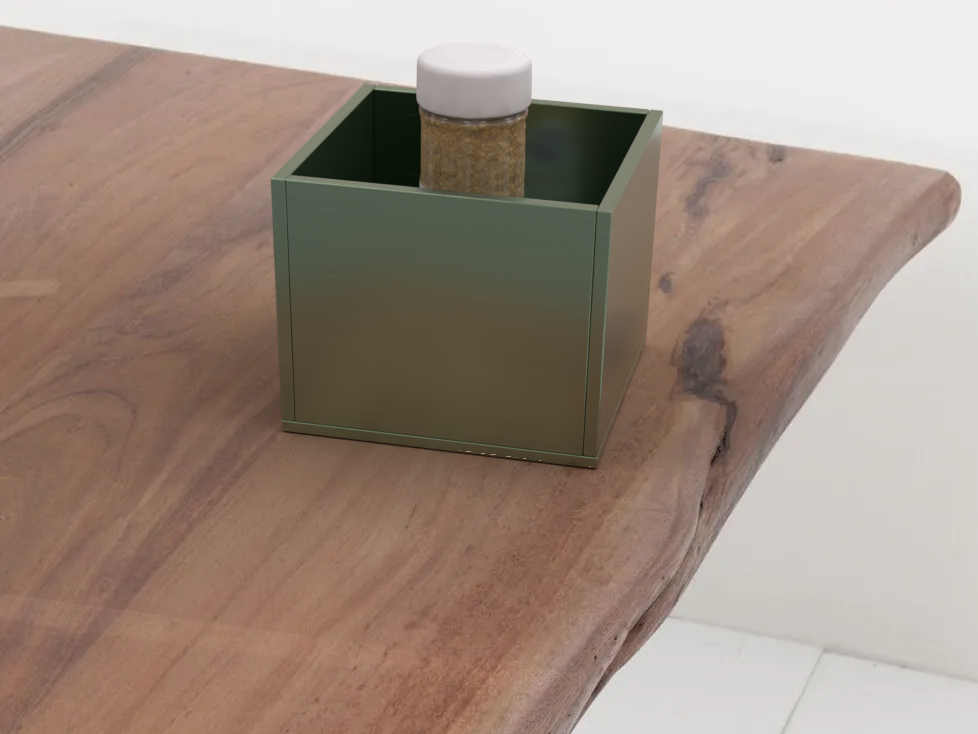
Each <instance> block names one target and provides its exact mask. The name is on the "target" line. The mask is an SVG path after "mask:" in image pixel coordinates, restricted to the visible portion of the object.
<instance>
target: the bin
mask: <svg viewBox="0 0 978 734" xmlns="http://www.w3.org/2000/svg"><path fill="white" fill-rule="evenodd" d="M419 106H420V105H419V104H418V102H417V98H416V87H404V86H394V85H393V86H392V85H383V84H381V85H380V84H377V85H376V84H371V83H363V84H362V85H361V86H360V87H359V88H358V89H357V90H356V91H355V92H354V93H353V94H352V95H351V96H350V97H349V98H348V100H347V101H346V102H344V103H343V105H342V106H340V108H339V109H338V110H336V112H335V113H334V114H333V115H331V117H330V118H329V119H328V120H327V121H326V122H325V123H324V124H323V125H322V126H321V127H320V128H319V129H318V130H316V132H315V133H313V135H312V136H311V137H310V138H309V139H308V140H307V141H306V142H305V143H304V144H303V145H302V146H301V147H300V148H299V149H298V150H297V151H296V152H295V153H294V154H293V155H292V156H291V157H290V158H289V159H288V160H287V161H286V162H285V163H284V164H283V165H282V166H281V167H280V168H279V169H278V170H277V171H276V172H275V173H274V175H272V176H271V178H270V195H271V196H270V197H271V217H272V218H271V219H272V220H271V221H272V239H273V260H274V263H273V264H274V286H275V308H276V328H277V329H276V330H277V351H278V352H277V353H278V354H277V355H278V370H279V371H278V373H279V395H280V396H279V397H280V418H281V431H282V432H290V433H297V434H306V435H314V436H322V437H330V438H339V439H347V440H348V439H349V440H357V441H365V442H372V443H380V444H381V443H382V444H389V445H396V446H397V445H398V446H405V447H412V448H413V447H414V448H423V449H430V450H438V451H447V452H455V453H464V454H472V455H480V456H487V457H488V456H489V457H496V458H504V459H505V458H506V459H512V460H513V459H514V460H520V461H521V460H523V461H528V462H529V461H530V462H537V463H538V462H539V463H546V464H555V465H563V466H570V467H578V468H579V467H580V468H589V469H597V468H598V466H599V463H600V461H601V458H602V455H603V452H604V450H605V448H604V447H606V445H607V443H608V440H609V437H610V435H611V434H612V430H611V429H613V428H614V425H615V422H616V420H617V417H618V415H619V413H620V409H621V407H622V404H623V402H624V400H625V397H626V395H627V392H628V389H629V387H630V384H631V382H630V381H632V379H633V376H634V374H635V372H636V369H637V367H638V364H639V362H640V359H639V357H640V358H641V356H642V354H641V353H643V351H642V349H643V350H645V349H644V348H645V346H646V344H647V333H648V321H649V320H648V319H649V308H650V293H651V280H652V269H653V254H654V253H653V252H654V240H655V228H656V227H655V226H656V213H657V202H658V201H657V199H658V185H659V176H660V175H659V172H660V159H661V147H662V146H661V145H662V135H663V119H664V111H663V110H660V109H648V108H639V107H628V106H617V105H608V104H607V105H606V104H593V103H585V102H572V101H562V100H561V101H560V100H551V99H550V100H548V99H539V98H531V104H530V105H529V107H528V115H527V117H526V119H525V123H526V128H525V175H524V198H519V197H509V196H499V195H489V194H478V193H468V192H458V191H448V190H438V189H427V188H419V185H420V176H421V116H420V113H419ZM645 342H646V343H645ZM644 345H645V346H644ZM643 347H644V348H643ZM640 355H641V356H640ZM638 360H639V361H638ZM637 363H638V364H637ZM628 386H629V387H628ZM626 391H627V392H626ZM624 396H625V397H624ZM622 401H623V402H622ZM620 406H621V407H620ZM617 414H618V415H617ZM616 416H617V417H616ZM615 419H616V420H615ZM613 424H614V425H613ZM609 434H610V435H609ZM606 442H607V443H606ZM605 444H606V445H605ZM459 450H460V451H459ZM466 451H471V452H466ZM481 453H485V454H481ZM490 454H496V455H490ZM506 456H511V457H506ZM515 457H516V458H515ZM600 457H601V458H600ZM523 458H526V459H523ZM539 460H541V461H539ZM589 466H591V467H589Z"/></svg>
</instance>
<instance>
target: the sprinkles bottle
mask: <svg viewBox="0 0 978 734" xmlns="http://www.w3.org/2000/svg"><path fill="white" fill-rule="evenodd" d="M532 66H533V65H532V60H531V58H530V56H529V55H528V54H527V53H526V52H524V51H522V50H521V49H518V48H516V47H512V46H509V45H506V44H499V43H493V42H483V41H482V42H481V41H465V42H464V41H462V42H450V43H444V44H439V45H435V46H432V47H429V48H426V50H424V51H422V52H421V53H419V55H418V57H417V60H416V83H415V84H416V87H415V88H416V98H417V102H418V104H419V105H420V106H419V113H420V116H421V176H420V185H419V188H427V189H438V190H448V191H458V192H468V193H478V194H489V195H499V196H509V197H519V198H524V175H525V128H526V123H525V119H526V117H527V115H528V107H529V105H530V104H531V99H532V95H533V94H532V89H533V67H532Z"/></svg>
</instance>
